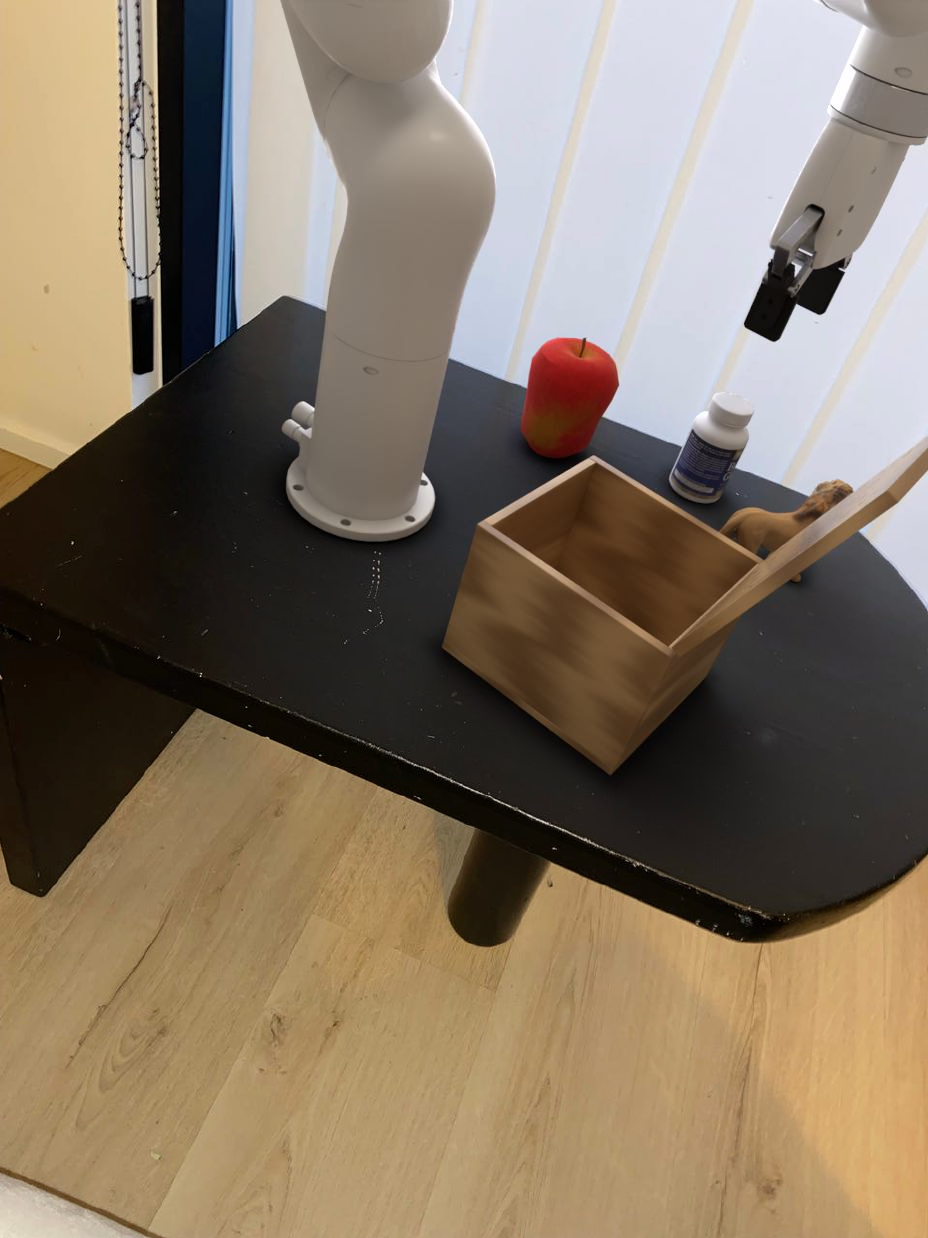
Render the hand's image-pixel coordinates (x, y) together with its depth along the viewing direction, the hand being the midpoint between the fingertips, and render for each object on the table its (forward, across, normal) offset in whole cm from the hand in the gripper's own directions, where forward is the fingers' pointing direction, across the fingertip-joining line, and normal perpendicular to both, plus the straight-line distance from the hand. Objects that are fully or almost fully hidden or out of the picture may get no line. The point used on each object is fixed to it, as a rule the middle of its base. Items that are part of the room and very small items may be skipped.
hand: (784, 320), depth 81 cm
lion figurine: (+19, +6, +9) cm, 22 cm away
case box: (+18, +30, +5) cm, 36 cm away
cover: (-2, +30, +15) cm, 34 cm away
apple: (+18, +8, -14) cm, 24 cm away
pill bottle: (+19, 0, -1) cm, 19 cm away
